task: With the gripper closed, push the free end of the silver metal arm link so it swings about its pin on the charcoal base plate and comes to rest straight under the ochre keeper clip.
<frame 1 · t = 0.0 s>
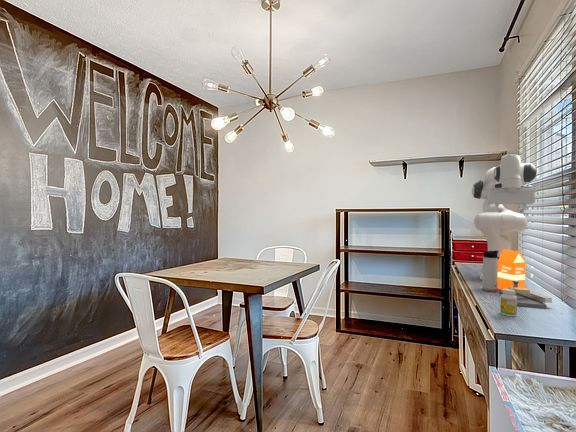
hand: (510, 213, 169), 39 cm above the table, tool pointing down, fingers open, 8 cm apart
keeper clip: (521, 301, 149), resting on base plate
arm link: (529, 290, 150), point 4 cm above the table, hinge at 25.0°
travel mug: (489, 290, 169), on the table
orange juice: (510, 290, 170), on the table
base plate: (521, 300, 151), on the table
supplement bottle: (508, 315, 130), on the table
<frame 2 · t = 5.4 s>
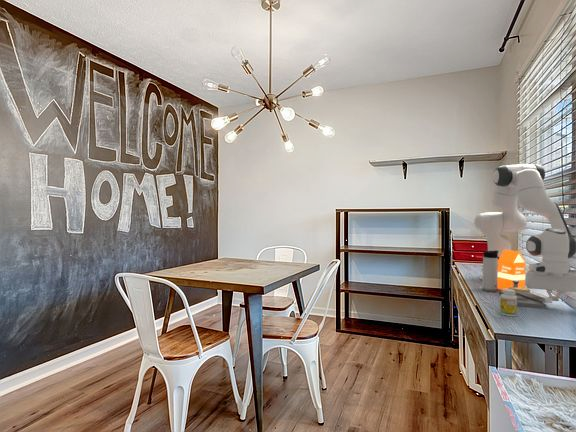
hand: (553, 300, 140), 3 cm above the table, tool pointing down, fingers closed
arm link: (529, 290, 150), point 4 cm above the table, hinge at 25.0°, touching gripper
everything else where it was.
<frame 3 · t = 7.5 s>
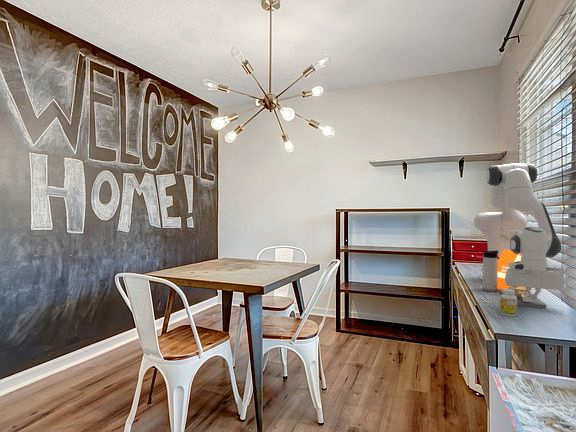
hand: (532, 298, 142), 3 cm above the table, tool pointing down, fingers closed
arm link: (520, 290, 150), point 4 cm above the table, hinge at -0.2°, touching gripper
everything else where it was.
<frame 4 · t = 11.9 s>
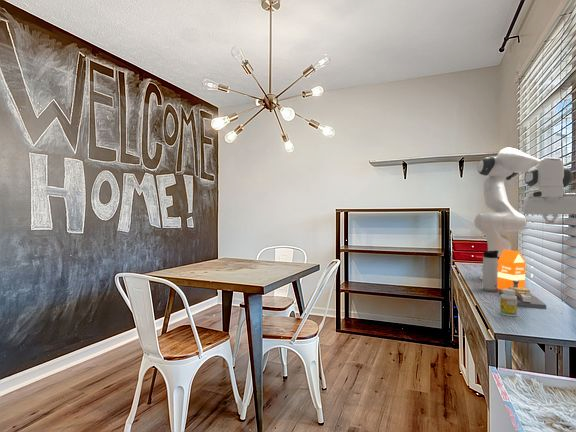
hand: (549, 224, 151), 34 cm above the table, tool pointing down, fingers closed
arm link: (520, 290, 150), point 4 cm above the table, hinge at -0.2°
everything else where it was.
at the end: arm link at +0° (first picture: +25°); the gripper is holding nothing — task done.
